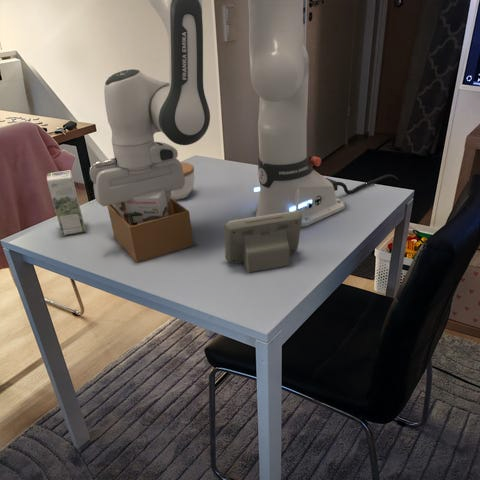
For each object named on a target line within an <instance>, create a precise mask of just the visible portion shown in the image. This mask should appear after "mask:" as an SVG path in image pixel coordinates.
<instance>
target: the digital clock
mask: <svg viewBox="0 0 480 480" xmlns="http://www.w3.org/2000/svg"><path fill="white" fill-rule="evenodd" d="M301 222H302V214H301V212H298V211H290V212H283V213H276V214H270V215H264V216H257V217H256V216H251V217H245V218H239V219H233V220H229V221H227V223H226V224H225V226H224V251H225V252H224V255H225V260H226V262H228V263H229V264H237V263H243V264H244V266H245V268H246V270H247V272H248V273H252V272H258V271H259V272H260V271H265V270H270V269H275V268H276V269H277V268H281V267H282V268H283V267H289V266H290V254H295V253H296V252H297V251H298V249H299V245H300V244H299V243H300V242H299V241H300V238H301V237H300V236H301V229H302V226H301Z"/></svg>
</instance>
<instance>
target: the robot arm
mask: <svg viewBox="0 0 480 480" xmlns="http://www.w3.org/2000/svg"><path fill="white" fill-rule="evenodd" d="M148 2H149V3H150V5H151V7H152V8H153V9H154V10H155V12H156V13H157V15H158V16H159V18H160V19H161V21H162V23H163V25H164V28H165V30H166V33H167V37H168V52H169V82H165V81H162V80H159V79H155V78H153V77H151V76H149V75H146V74H145V73H143V72H142V71H140V70H139V69H135V68H134V69H128V70H127V69H124V70H121V71H118V72H115V73H113V74H111V75H110V76H109V77H108V78H107V79H106V81H105V83H104V90H103V91H104V92H103V95H104V105H105V112H106V117H107V123H108V125H109V127H110V130H111V145H112V151H113V156H114V157H113V158H107V159H106V160H99V161H95V162H94V164H92V165H91V166H90V167H89V172H88V173H89V179H90V180H91V182H92V183H93V193H94V199H95V201H96V203H98V204H99V205H100V206H102V207H108V205H113V206H114V208H115V209H116V210H117V211H118V212H119V215H120V216H121V217H122V218H123V219H124V220H129V218H128V213H127V212H126V211H121V209H120V208H119V207H121V202H125V201H130V200H132V199H133V198H134V197H137V196H140V195H143V194H147V193H150V192H153V191H157V190H160V189H164V190H165V194H166V201H167V207H168V202H169V200H170V197H171V191H173V190H177V189H182V188H183V186H184V184H185V179H184V173H183V169H182V165H181V163H180V162H181V161H180V160H179V159H178V155H179V153H178V150H177V148H176V147H174V146H172V145H170V144H168V143H166V142H160V141H155V137H154V135H155V134H157V133H163V134H164V136H166V138H167V139H168V140H169V141H170V142H172V143H174V144H176V145H179V146H189V145H193V144H195V143H197V142H199V141H200V140H201V139H202V138H203V137H204V136H205V135H206V133H207V131H208V129H209V127H210V122H211V112H210V108H209V107H210V106H209V104H208V100H207V97H206V93H205V89H204V25H203V24H204V23H203V0H148ZM247 4H248V40H249V41H248V43H249V46H248V47H249V65H250V66H249V69H250V82H251V85H252V88H253V90H254V92H255V93H256V94H257V95H258V97H259V108H258V121H257V130H258V131H257V132H258V134H257V135H258V151H259V153H258V155H259V158H257V171H258V173H257V174H258V181H259V186H257V187H254V188H253V192H254V193H256V192H259V194H258V203H257V209H256V212H255V217H257V216H264V215H270V214H276V213H283V212H290V211H298V212H301V214H302V222H301V227H308V226H311V225H312V224H315V223H316V222H319V221H322V220H323V219H325V218H328V217H330V216H332V215H334V214H336V213H338V212H340V211H343V210H345V202H344V201H343V200H341V199H340V198H339V197H336V191H338V188H339V187H341V188H342V189H343V191H344V193H345V194H348V195H353V194H354V193H356V192H357V191H359V190H361V189H363V188H366V187H368V186H371V185H374V184H378V182H381V181H383V180H386V179H392V180H394V181H397V180H399V178H398V177H397V176H395V175H394V174H385V175H381V176H380V177H377V178H375V179H372V180H369V181H367V182H364V183H362V184H360V185H357V186H356V187H354V188H352V189H348V187H347V185H346V183H344V182H342V181H336V180H334V179H331V178H329V177H325V176H323V175H322V174H320V173H319V172H317V171H316V170H315V169H314V168H313V166H315V167H320V166H321V164H322V158H321V157H318V156H315V155H313V156H311V155H309V154H307V153H308V152H307V151H308V149H307V148H308V147H307V146H308V142H307V140H308V139H307V137H308V136H307V132H308V131H307V127H308V125H307V122H308V102H309V101H308V100H309V74H310V73H309V71H310V69H309V68H310V58H309V57H310V56H309V54H308V51H307V48H306V46H305V45H304V0H247ZM366 183H367V184H366ZM338 186H339V187H338Z"/></svg>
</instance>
